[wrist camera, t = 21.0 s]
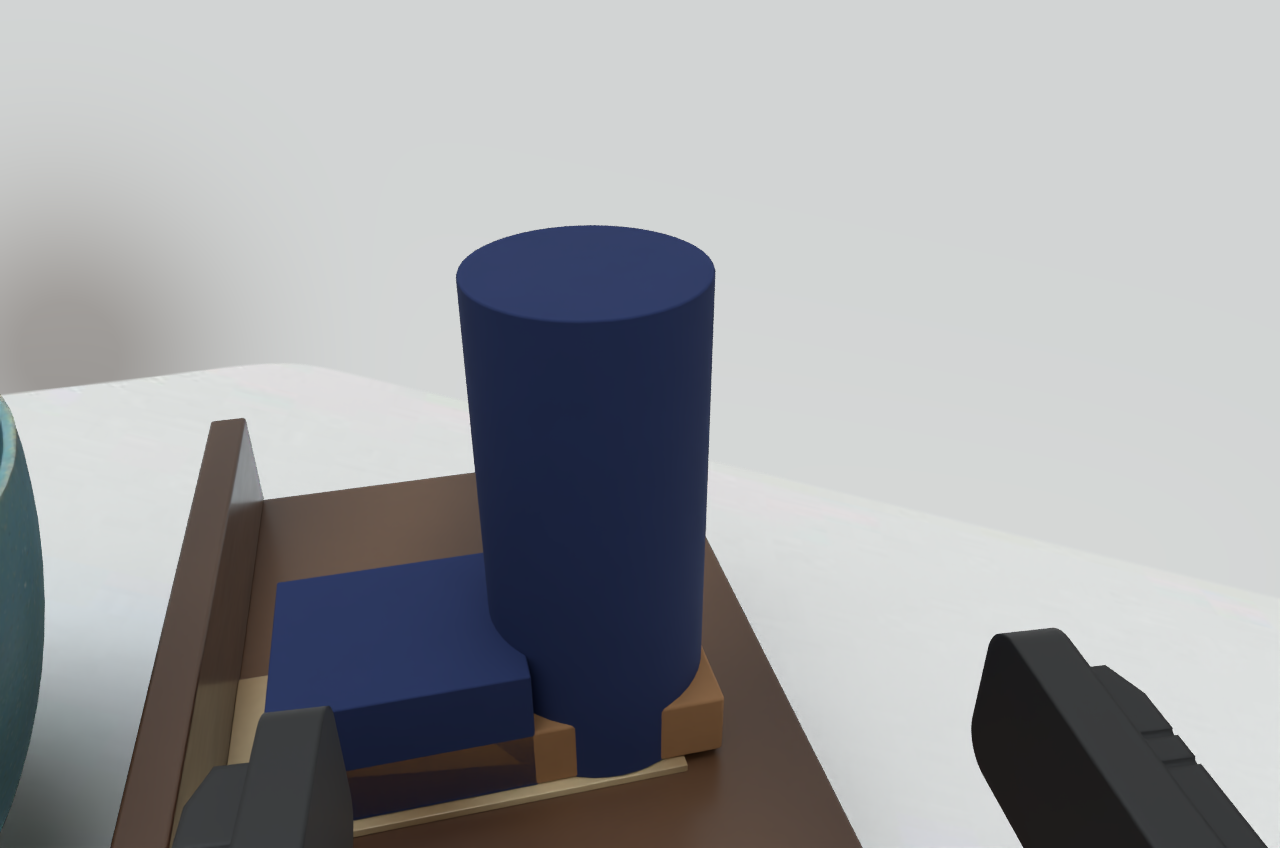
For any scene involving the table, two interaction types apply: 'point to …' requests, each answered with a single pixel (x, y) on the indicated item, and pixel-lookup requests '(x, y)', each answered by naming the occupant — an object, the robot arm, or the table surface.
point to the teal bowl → (17, 609)
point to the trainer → (539, 544)
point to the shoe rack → (468, 828)
